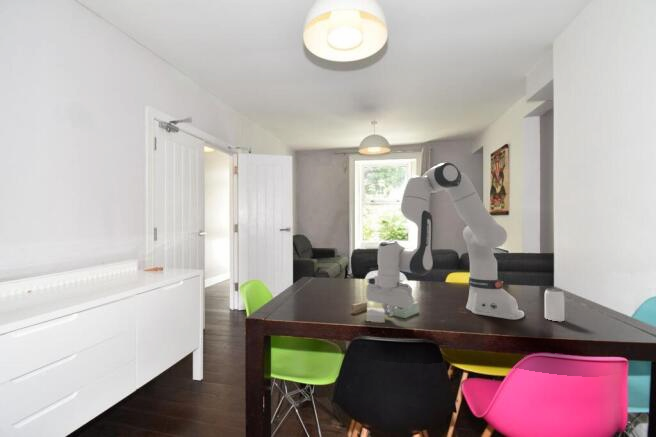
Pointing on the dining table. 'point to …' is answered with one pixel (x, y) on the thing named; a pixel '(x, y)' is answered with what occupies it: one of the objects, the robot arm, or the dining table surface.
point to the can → (554, 304)
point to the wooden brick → (359, 307)
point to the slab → (375, 315)
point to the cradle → (406, 311)
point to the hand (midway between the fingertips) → (388, 315)
